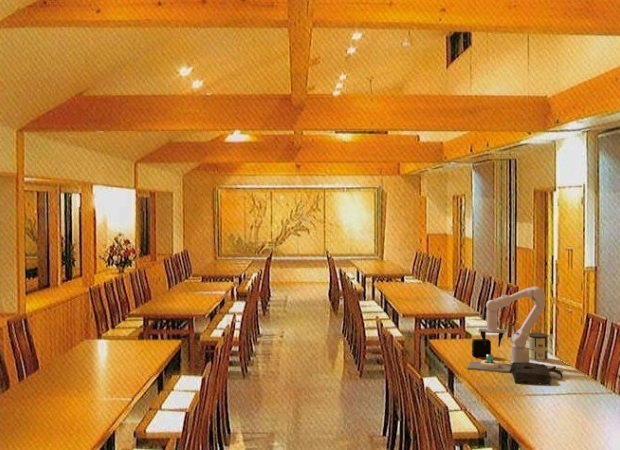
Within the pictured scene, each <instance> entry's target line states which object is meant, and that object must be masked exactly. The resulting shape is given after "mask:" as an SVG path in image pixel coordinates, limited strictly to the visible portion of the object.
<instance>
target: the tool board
mask: <svg viewBox="0 0 620 450" xmlns="http://www.w3.org/2000/svg"><path fill="white" fill-rule="evenodd" d="M511 366H512V364H511V363H510V364H509V363H500V360H499V361H498V360H493V364H490V363H486V359H485V360H484V359H482V360H481V361H474V360H473V361H472V360H471V361H469V364H468V365H467V367H466V370H473V371H482V370H483V371H484V372H495V373H496V372H497V373H506V374H510V373H511V372H512V371H511Z"/></svg>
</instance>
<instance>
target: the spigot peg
mask: <svg viewBox="0 0 620 450" xmlns="http://www.w3.org/2000/svg"><path fill="white" fill-rule="evenodd" d="M485 360H486V363H490V364H493V361H494V354H492V353H491V354H487V355H486V359H485Z"/></svg>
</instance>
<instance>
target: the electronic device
mask: <svg viewBox="0 0 620 450" xmlns="http://www.w3.org/2000/svg"><path fill="white" fill-rule="evenodd" d="M487 354H492V341H491V340H490V339H489V338H486V345H485V346H484V342H483V339H482V338H473V339H472V340H471V355H472V357H473V358H474V357H486V355H487Z"/></svg>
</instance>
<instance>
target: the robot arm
mask: <svg viewBox="0 0 620 450" xmlns="http://www.w3.org/2000/svg"><path fill="white" fill-rule="evenodd" d="M523 298H530V299H532V301H533V303H534V305H533V306H532V309H531V310H530V311H529V313H528V315H527V317H526V318H525V319H524V322H523V323H522V324H521V327H520V328H519V329H517V330H516V332H515V333H514V334H512V335H511V342H512V345H511V360H510V364H513V362H528V363H530V361H531V360H530V358H529V347H526V344H527V340H528V339H529V334H530V333H531V331H532V329H533V327H534V326H535V324H536V322H537V321H538V319H539V317H540V316H541V313H542V312H543V311H544V309H545V308H546V293H545V292H544V290H543V289H542V288H540V287H538V286H536V285H533V286H531V287H527V288H524V289H522V290H520V291H517V292H515V293H513V294H511V295H508V294H501V296H499V297H496V298H495V297H494V298H493V299H490V300H488V301H486V304H485V308H486V328H483V327H481V328H480V327H479V328H478V333H480V337H481V339H483V342H484V346H485V345H486V339H487V338H486V336H487V335H486V334H487V333H488V334H498V342H497V343H498V347H499V348H500V347H501V342H502V340H503V339H502V338H503V336H505V335H506V333H507V332H506V331H507V330H506V329H500V328H499V329H498V310H499V309H502V308H505V307H507V306H510V305H511V303H512V302H514V301H517V300H520V299H523Z"/></svg>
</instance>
